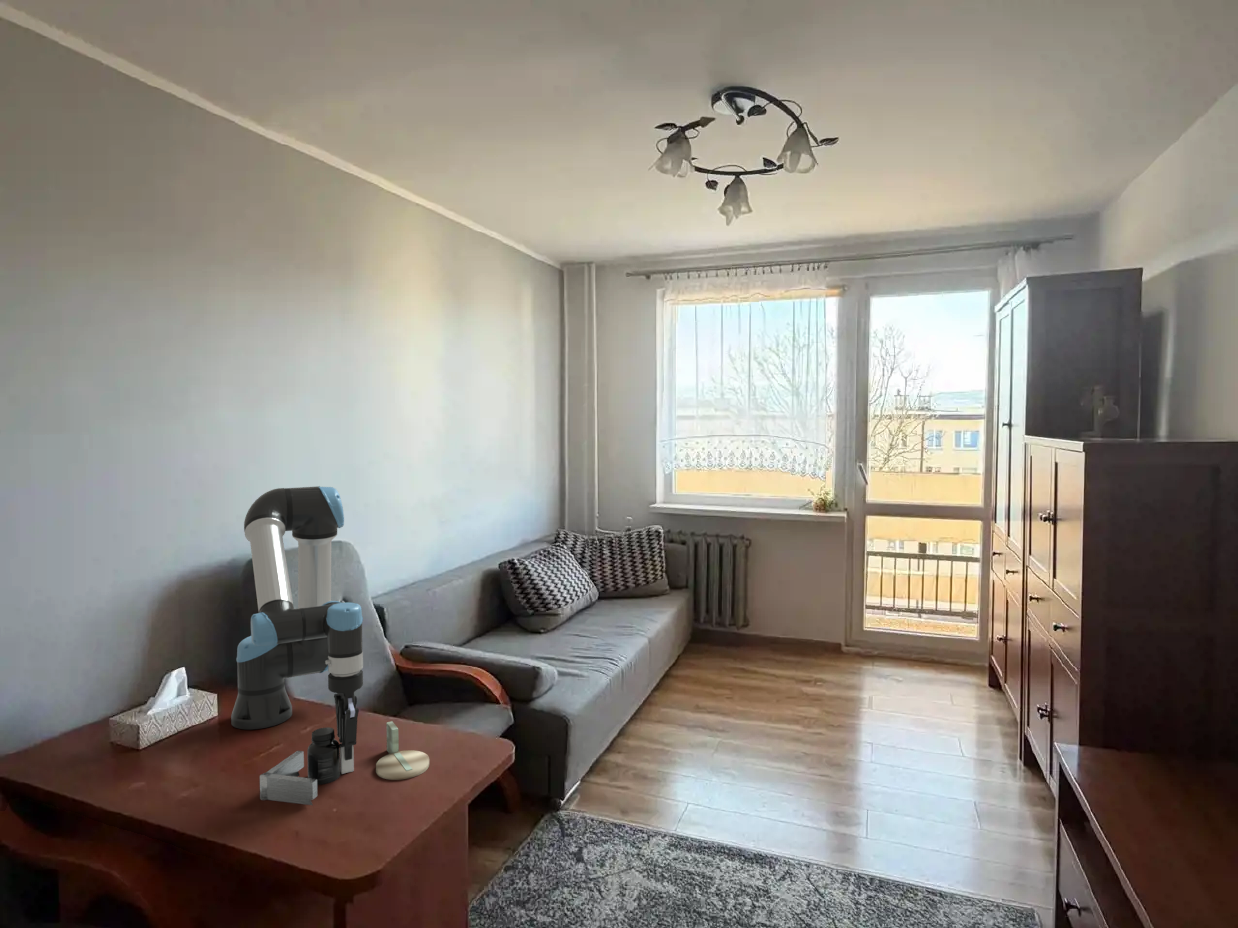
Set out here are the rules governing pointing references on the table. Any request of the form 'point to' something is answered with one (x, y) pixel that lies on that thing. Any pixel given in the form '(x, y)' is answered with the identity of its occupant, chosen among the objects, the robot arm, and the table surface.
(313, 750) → the supplement bottle
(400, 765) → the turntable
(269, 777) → the vee block
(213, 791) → the table surface
